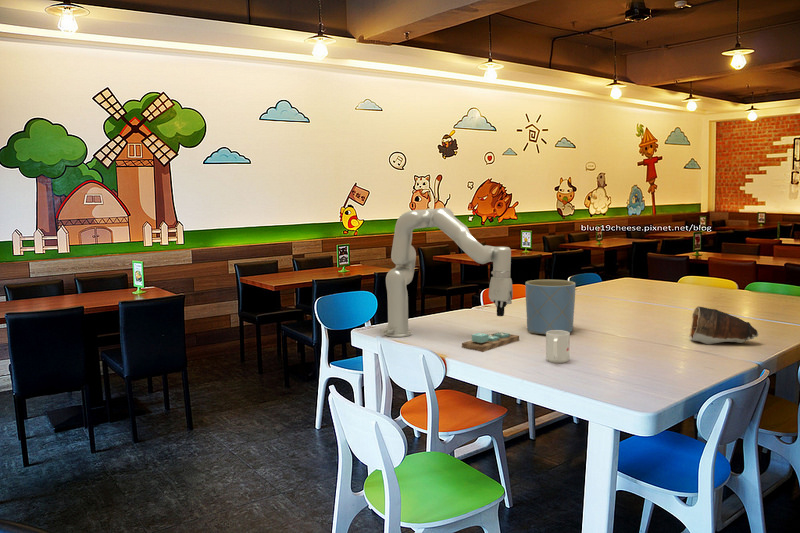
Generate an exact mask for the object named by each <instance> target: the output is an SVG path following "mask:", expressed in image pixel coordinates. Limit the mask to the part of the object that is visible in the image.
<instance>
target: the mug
mask: <svg viewBox="0 0 800 533" xmlns="http://www.w3.org/2000/svg"><path fill="white" fill-rule="evenodd" d="M570 337H571V332H567V331H563V330H550V331H547V332H546V334H545V358H546V360H547V361H548V362H549V363H554V364H564V363H567V362H568V361H570V357H571V356H570V353H571V352H570V351H571V350H570V348H571V347H570V346H571V345H570V344H571V338H570Z"/></svg>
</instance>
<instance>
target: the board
mask: <svg viewBox="0 0 800 533" xmlns="http://www.w3.org/2000/svg"><path fill="white" fill-rule="evenodd" d="M496 333H499V332H495V333H492V334H488V336H489V335H492V336H494V334H496ZM509 334H510V333H509ZM518 341H520V335H518V334H517V335H516V334H512V333H511V334H510V336H509V337H506V338H499V340H496V341H493V342H492V341H486V342H483V343H478V342H473V341H472V339H471V340H468V341H464V342H462V343H461V348H462V349H466V350H467V349H468V350H472V351H477V352H482V353H483V352H486V351H490V350H492V349H497V348H499V347H502V346H506V345H508V344H511V343H515V342H518Z"/></svg>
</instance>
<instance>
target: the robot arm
mask: <svg viewBox="0 0 800 533" xmlns="http://www.w3.org/2000/svg"><path fill="white" fill-rule="evenodd" d="M425 228H437V229H439V230H440V231H442V232H443V233H444V234H445V235H446V236H448V237H449V238H450V239H451V240H452V241H454V243H455V244H456V245H457V246H458V247H459V248H460V249H461V250H462V251H463V252H464V253H465V254H466V255H467V256H468V257H470V258H471V260H473V261H474V262H475V263H477V264H479V265H480V264H481V265H484V264H487V263H490V262H491V263H492V267H493V268H492V271H491V272H490V273H491V275H492V276H491V277H490V282H489V287H488V298H489V301H490V302H492V303H493V304H494V305H495V307H496V316H497V317H504V316H505V308H506V306H508V305H511V304H512V300H513V294H514V291H513V280H512V278H511V264H512V262H511V261H512V249H511V248H510V247H509V246H492V245H487V244H486V245H483V244H482V243H480V242H479V241H478V240H477V239H476V238H475V237H474V236H473V235H472V234H471V232H470V230H469V228H468V226H467V225H466V224H464V223H463V222H461V220H459V219H458V218H457V217H456V216H455V214H454V212H453V211H452V210H451V208H448V207H439V208H425V209H413V210H412V209H411V210H409V211H406V212H403V213H402V214H401V215H400V216H399V217H398V218H397V220H396V223H395V226H394V234H393V240H392V245H391V246H392V247H391V254H390V258H391V262H393V264H395V267H394V268H391V269H390V270H389V271H388V272H387V273H386V276H385V287H386V294H387V325H386V328H381V329H380V332H381V333H380V334H384V335H385V336H387V337H390V338H406V337H409V336H411V335H412V333H413V332H412V331H411V330H409V296H408V295H409V294H408V289H407V285H409V284H410V283H412V281H413V278H414V274H415V268H416V259H417V252H416V249H415V247H414V246H413V245H412V241H413V231H414V229H425Z"/></svg>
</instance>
